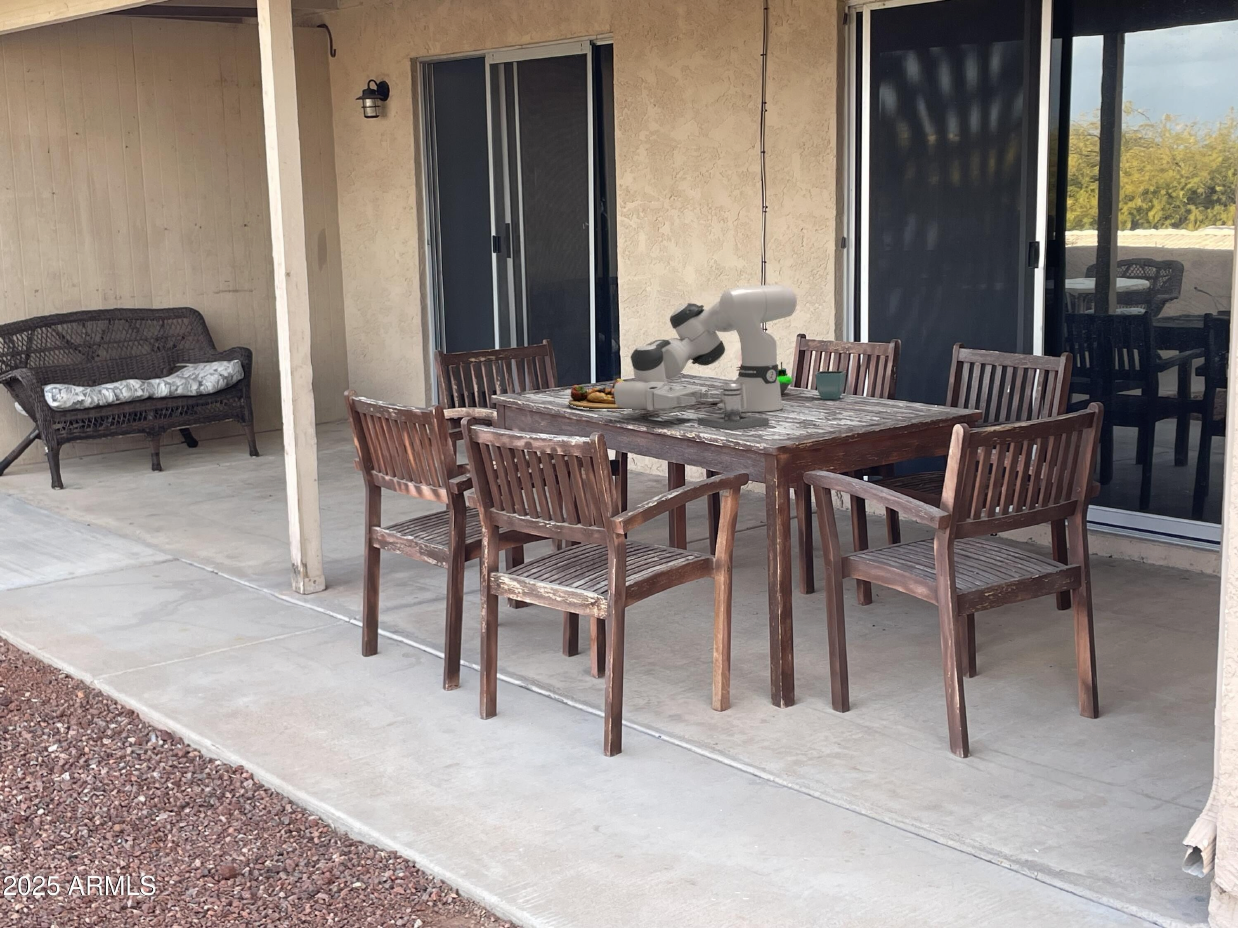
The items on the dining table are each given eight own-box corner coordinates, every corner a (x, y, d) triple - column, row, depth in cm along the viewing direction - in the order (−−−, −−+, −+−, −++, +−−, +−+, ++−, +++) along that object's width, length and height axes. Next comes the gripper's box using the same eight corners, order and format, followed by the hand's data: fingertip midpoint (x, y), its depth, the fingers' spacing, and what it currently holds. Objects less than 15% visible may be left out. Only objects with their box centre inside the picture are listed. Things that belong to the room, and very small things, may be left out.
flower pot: (820, 397, 462) (819, 370, 461) (846, 397, 459) (846, 370, 458) (814, 400, 454) (814, 373, 452) (841, 400, 451) (841, 373, 450)
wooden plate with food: (557, 412, 449) (556, 387, 447) (582, 399, 479) (581, 375, 478) (653, 414, 441) (653, 389, 440) (672, 400, 472) (672, 376, 470)
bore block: (697, 424, 409) (697, 417, 409) (734, 419, 417) (734, 413, 416) (731, 430, 396) (731, 423, 396) (768, 424, 404) (768, 418, 403)
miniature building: (773, 392, 482) (772, 360, 481) (798, 393, 474) (798, 361, 472) (749, 395, 474) (749, 363, 473) (775, 397, 466) (774, 364, 464)
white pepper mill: (720, 424, 407) (719, 384, 405) (733, 422, 410) (733, 382, 408) (731, 426, 403) (730, 385, 401) (745, 424, 406) (744, 384, 404)
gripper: (677, 402, 426) (717, 404, 419) (645, 411, 409) (686, 413, 402) (677, 382, 425) (717, 383, 418) (644, 390, 408) (685, 391, 401)
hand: (701, 398), depth 410 cm, fingers open, 8 cm apart
